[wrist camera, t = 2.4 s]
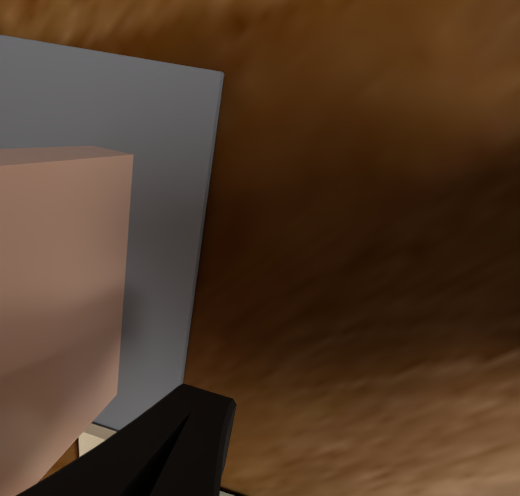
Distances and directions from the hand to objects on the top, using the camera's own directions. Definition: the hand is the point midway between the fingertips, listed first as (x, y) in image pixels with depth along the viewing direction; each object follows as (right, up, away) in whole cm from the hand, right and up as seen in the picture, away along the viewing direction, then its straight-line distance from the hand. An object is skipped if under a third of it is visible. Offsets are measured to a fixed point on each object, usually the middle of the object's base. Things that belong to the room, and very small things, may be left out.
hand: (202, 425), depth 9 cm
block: (-5, +3, +6) cm, 8 cm away
